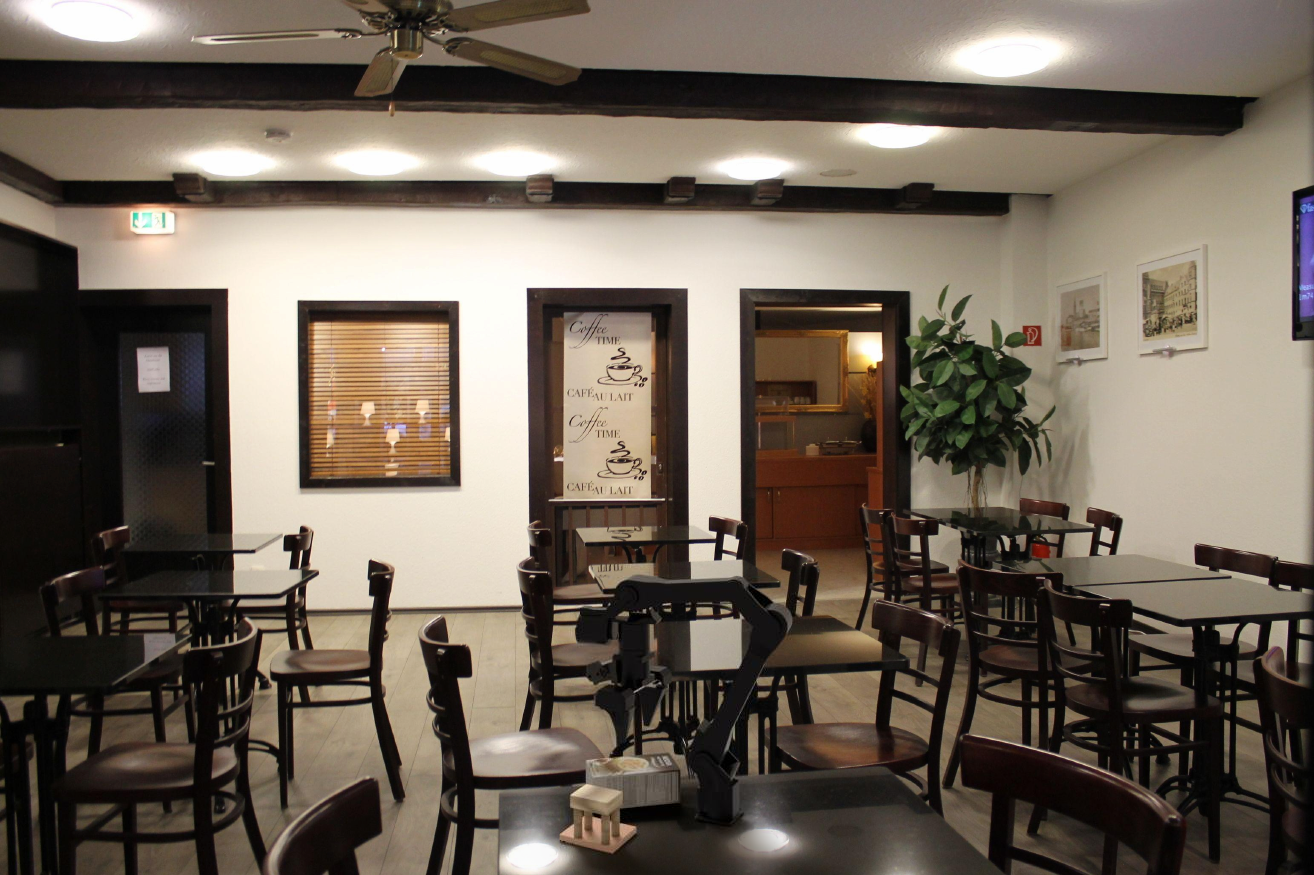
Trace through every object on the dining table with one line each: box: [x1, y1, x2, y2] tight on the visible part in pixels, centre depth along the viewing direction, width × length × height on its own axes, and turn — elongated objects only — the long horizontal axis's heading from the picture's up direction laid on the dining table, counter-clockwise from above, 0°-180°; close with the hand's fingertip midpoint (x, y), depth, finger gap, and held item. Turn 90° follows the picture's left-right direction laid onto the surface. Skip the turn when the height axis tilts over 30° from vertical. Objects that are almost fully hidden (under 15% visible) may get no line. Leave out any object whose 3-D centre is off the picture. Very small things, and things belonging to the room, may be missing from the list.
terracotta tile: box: [559, 816, 637, 854], centre depth 148 cm, size 10×8×1 cm
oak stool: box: [569, 783, 623, 845], centre depth 146 cm, size 7×5×7 cm
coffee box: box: [585, 752, 682, 809], centre depth 163 cm, size 9×6×16 cm
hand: (634, 734), depth 159 cm, fingers open, 9 cm apart
